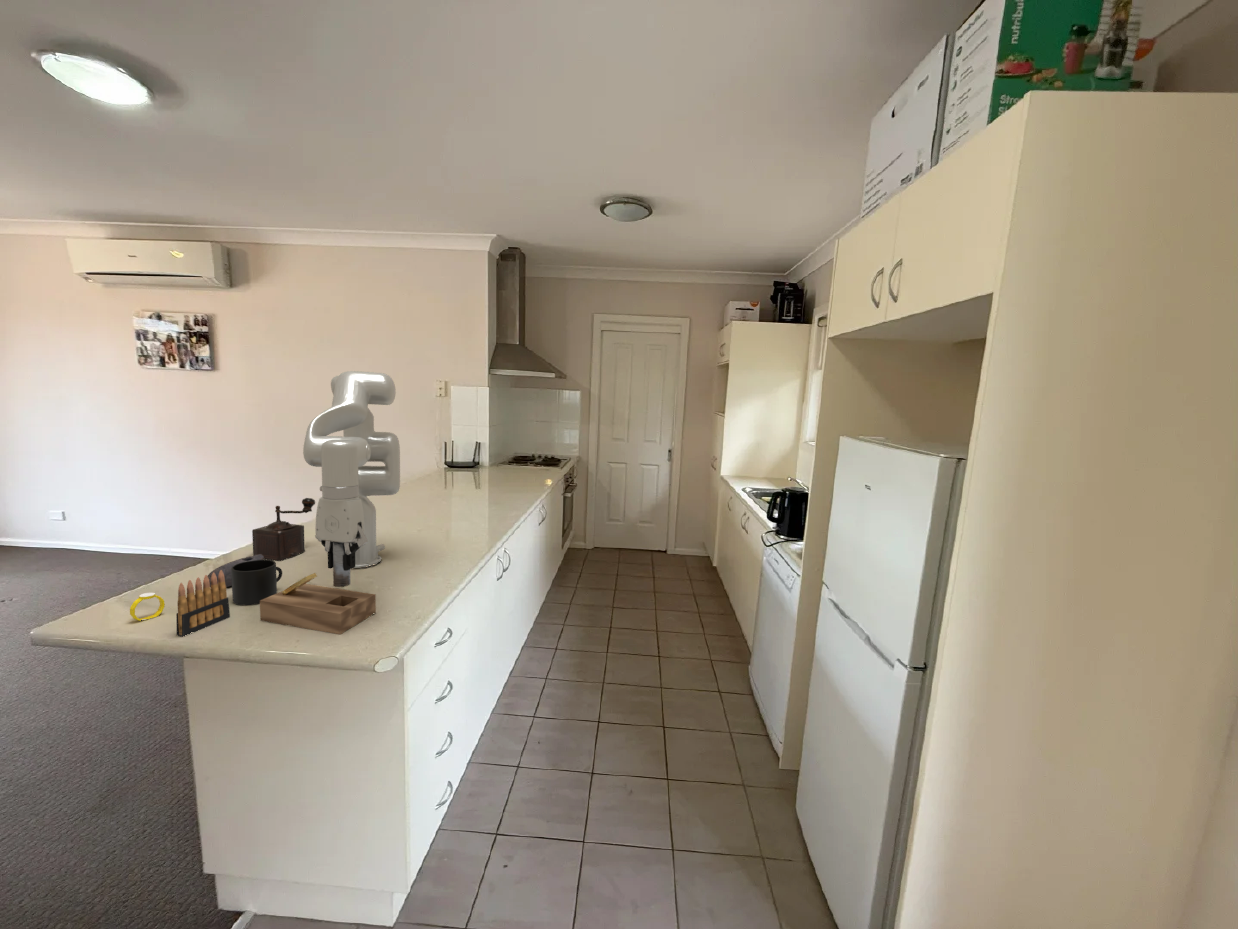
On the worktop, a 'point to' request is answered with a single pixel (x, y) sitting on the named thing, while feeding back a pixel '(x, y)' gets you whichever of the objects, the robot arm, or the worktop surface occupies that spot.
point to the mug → (254, 581)
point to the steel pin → (339, 566)
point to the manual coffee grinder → (281, 536)
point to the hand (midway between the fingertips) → (341, 567)
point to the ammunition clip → (202, 604)
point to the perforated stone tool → (227, 567)
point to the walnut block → (318, 608)
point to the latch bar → (299, 583)
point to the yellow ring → (143, 597)
